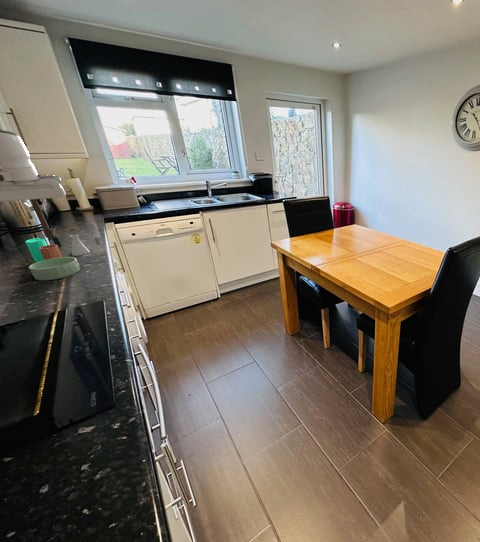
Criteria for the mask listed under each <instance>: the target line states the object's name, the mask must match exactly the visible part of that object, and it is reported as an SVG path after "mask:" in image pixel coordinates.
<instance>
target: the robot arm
mask: <svg viewBox="0 0 480 542" xmlns="http://www.w3.org/2000/svg"><path fill="white" fill-rule="evenodd" d="M0 169H1V171H0V203H1V202H15V201H20V203H21V204H22V205H23V206H25V207H26V208H27V209H28V211H29V212H35V210H34V208H33V206H32V205H30V204H28V203H27V202H28V201H30V200H31V199H36V200H39V202H42V203H41V205H40V204H39V208H40V210H41V211H47V208H46V206H45V205H46V203H47V199H58V198H59V199H60V198H65V197H66V195H67V193H66V191H65V188H64V187H63V186H62V185H63V181H62V179H61V177H60V176H59V175H54V174H53V173H52V174H50V173H49V174H39V173H38V171H37V169H36V167H35V165H34V164H33V163H32V161H31V156H30V152H29V150H28V148H27V147H26V144H25V143H24V141H23V140H22V138H21V137H20V136H19V135H18V134H17V133H16V132H12V131H8V130H2V129H0Z"/></svg>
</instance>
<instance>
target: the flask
mask: <svg viewBox="0 0 480 542" xmlns="http://www.w3.org/2000/svg"><path fill="white" fill-rule="evenodd" d="M69 238H70V239H71V243H72V244H71V250H72V251H71V255H72V256H83V255H87V254H90V252H91V251H90V250H89V249H88V248H87V247H86V246H85V245H84V243H83V242H82V241H81V240H80V238H79V234H71V235H69Z"/></svg>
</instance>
